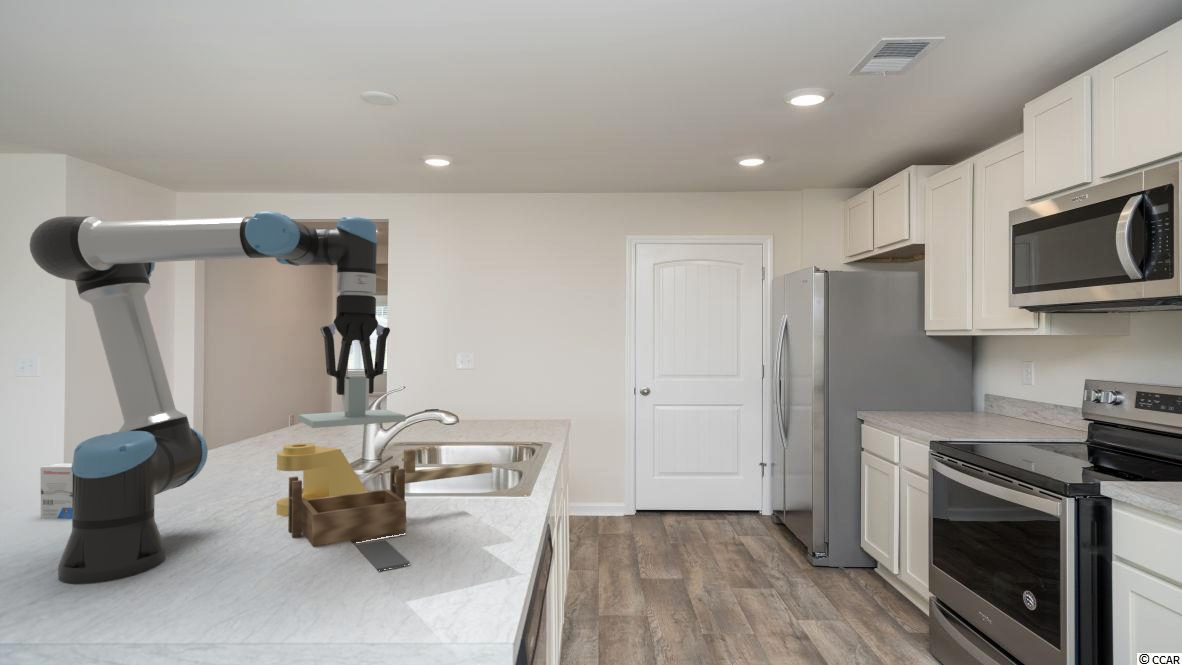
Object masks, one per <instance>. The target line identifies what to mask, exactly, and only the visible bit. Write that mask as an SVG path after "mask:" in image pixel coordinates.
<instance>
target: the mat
mask: <svg viewBox="0 0 1182 665" xmlns="http://www.w3.org/2000/svg"><path fill="white" fill-rule="evenodd" d="M353 545H354V547H355V548H356V549H357V550H358V551H359V552H360V554H362V555H363V557H364V558H365V559H366V561H368V562H369V564H371V565H372V566H373V568H374V569H375V570H376V571H377V572H378V571H379V570H384V569H389V568H395V567H400V566H404V565H408V564H410V561H409V560H408V559H407V558H406V557H405V556H403V555H402V554H401V553H400V552H399V551H398V550H397V549H396V548H395V547H393V545H392V544H391V543H390V542H388V541H387V539H381V540H376V541H370V542H364V543H359V544H353ZM410 565H411V564H410ZM400 568H401V567H400ZM395 569H396V568H395Z"/></svg>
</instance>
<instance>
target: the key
mask: <svg viewBox="0 0 1182 665" xmlns="http://www.w3.org/2000/svg"><path fill="white" fill-rule="evenodd" d="M403 469H405V484H412V483H420V482H428V481H429V482H430V481H436V480H444V479H451V478H459V477H460V478H461V477H466V476H474V475H483V474H484V475H485V474H490V473H491V474H492V473H493V463H492V462H489V461H483V462H476V463H468V464H467V463H466V464H459V465H458V464H457V465H449V466H442V467H432V468H426V469H416V450H415V449H413V448H409V449H403ZM395 483H396V473H395Z"/></svg>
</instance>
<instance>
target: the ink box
mask: <svg viewBox="0 0 1182 665" xmlns="http://www.w3.org/2000/svg"><path fill="white" fill-rule="evenodd" d="M71 467H72V463H71V462H70V463H68V462H67V463H63V462H62V463H61V462H58V463H55V464H48V465H44V466H41V467H40V519H69V520H70V519H72V492H73V473H72V469H71Z"/></svg>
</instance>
